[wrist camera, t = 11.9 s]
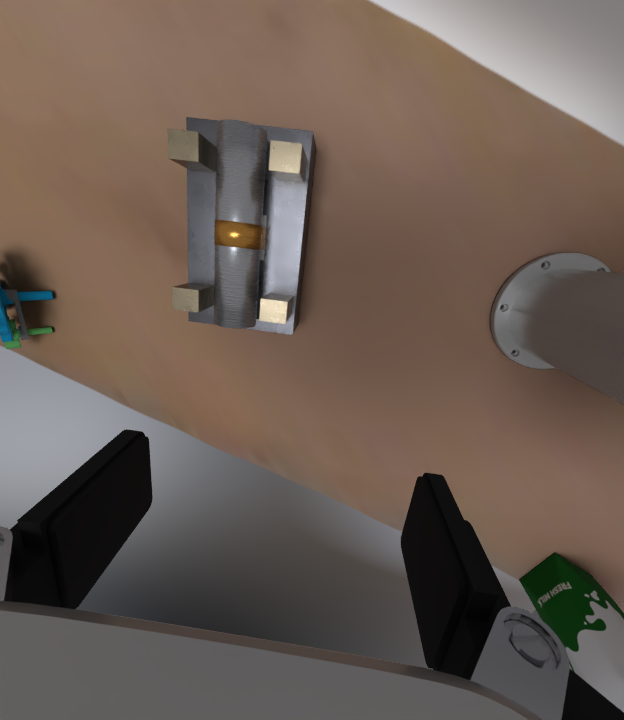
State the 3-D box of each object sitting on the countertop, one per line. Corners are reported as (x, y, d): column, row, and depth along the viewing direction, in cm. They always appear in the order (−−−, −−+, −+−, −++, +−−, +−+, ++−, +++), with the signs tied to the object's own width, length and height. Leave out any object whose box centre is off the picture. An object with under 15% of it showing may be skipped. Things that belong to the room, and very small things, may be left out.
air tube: (225, 134, 28) (208, 116, 24) (272, 140, 28) (262, 123, 24) (220, 316, 33) (206, 324, 29) (260, 320, 33) (251, 330, 29)
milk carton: (554, 606, 50) (686, 825, 31) (509, 579, 49) (617, 789, 30) (600, 573, 47) (777, 791, 28) (554, 544, 46) (705, 751, 27)
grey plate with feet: (316, 148, 32) (308, 112, 24) (298, 324, 38) (286, 345, 30) (208, 136, 33) (162, 96, 24) (206, 312, 39) (170, 330, 30)
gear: (-29, 240, 36) (-34, 264, 30) (39, 242, 40) (48, 264, 34) (-2, 330, 41) (-1, 367, 35) (56, 325, 45) (67, 357, 39)
